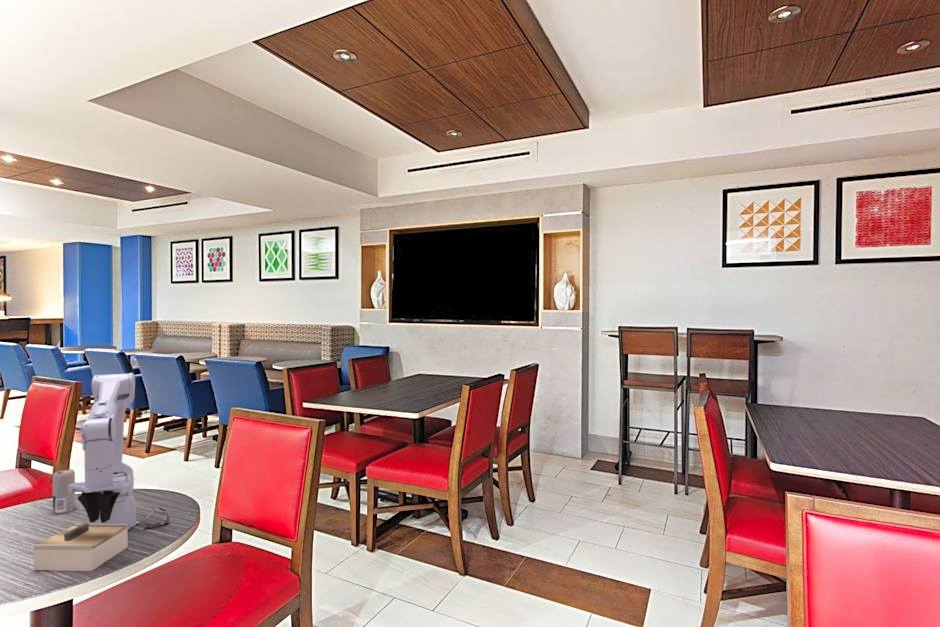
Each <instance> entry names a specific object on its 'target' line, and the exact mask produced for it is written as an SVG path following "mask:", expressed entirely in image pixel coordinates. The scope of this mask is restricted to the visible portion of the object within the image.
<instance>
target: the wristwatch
mask: <svg viewBox="0 0 940 627" xmlns="http://www.w3.org/2000/svg"><path fill="white" fill-rule="evenodd" d="M155 513H158V514H162V515H166V519H165V521H164V522H165V523H167V524H168V523H169V520H170V514H169V513H168V510H166V509H165V508H164V509H163V508H161V507H156V508H154V509H153V510H151V512H150V513H149V514H148V515H146V516H145V517H144V520H143V524H144V525H145V526H146V527H148V528H149V529H150V528H152V527H154V528H157V527H156V526H159V527H161V526H160V525H161V524H160V523H161V522H157V523H147V522H148V521H147V520H148V519H149V518H150V517H152V515H154V514H155ZM165 523H164V524H165ZM165 525H166V524H165ZM152 529H153V528H152Z"/></svg>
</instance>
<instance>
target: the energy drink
mask: <svg viewBox="0 0 940 627" xmlns="http://www.w3.org/2000/svg"><path fill="white" fill-rule="evenodd" d="M75 475H76V474H75V470H74V469H62V470H58V471H55V472H53V474H52V512H53V514H56V515H59V514H60V515H61V514H66V512H67V513H70V512H73V511H74V510H75V508H76V492H73V493H68V485H70V484H72V483H76V476H75Z"/></svg>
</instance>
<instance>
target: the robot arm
mask: <svg viewBox="0 0 940 627" xmlns="http://www.w3.org/2000/svg"><path fill="white" fill-rule="evenodd" d="M135 390H136V376H135V374H134V373H133V372H129V373H113V374H112V373H111V374H110V373H109V374H95V375H94V376H93V377H92V379H91V393H92V396H93V398H94V399H93V400H94V403H93V404H92V405H91V407H90V411H89V413H88V417H87V419H86V420H85V421H82V423H81V425H80V439H81V444H82V451H84V453H83V454H84V482H83V481H82V482H75V483H72V484H70V485H68V493H73V492H75V493H81V495H78V496H77V501H78V502H80V504H81V505H82V507H83V509H84V510H85V512H86V514H87V517H88V520H89V524H94V522H95V524H127V531H128V530H130V529H132V528H134V527H135V526H136V524H137V525H138V524H140V521H139V520H137V501H136V498H135V497H134V496H133V492H134V482H135V481H134V469H133V468H132V467H131V466H130V465H128V464H126V463H124V462H123V451H124V450H123V448H124V432H125V431H124V430H125V413H126V410H127V406H128V405H130V404H132V403H134V399H135V397H136V396H135V395H136V394H135ZM131 527H132V528H131Z"/></svg>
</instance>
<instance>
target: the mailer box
mask: <svg viewBox="0 0 940 627" xmlns="http://www.w3.org/2000/svg"><path fill="white" fill-rule="evenodd" d="M82 524H83V523H74V524H73V526H81V525H82ZM88 524H89V526H124V527H125V529H123V530H122V531H120V532H118V533H117V534H115V535H113V536H112V537H110V538H108V539H107V540H105V541H103V542H102V543H100V544H98V545H97V546H95V547H93V545H37V544H34V545H33V568H34V569H33V571H34V570H50V571H49V572H61V571H62V572H93V571H94V570H95V569H97V568H99V567H101V566H102V565H103V564H105V563H107V562H108V561H110V560H111V559H113V557H115V556H117V555H118V554H120V553H122V552H123V551H124V550H126V549H127V548H129V546H128V545H129V542H128V541H129V539H128V538H129V537H128V535H129V534H128V530H127V524H96V523H88ZM107 560H108V561H107ZM104 562H105V563H104ZM51 570H52V571H51ZM53 570H54V571H53Z"/></svg>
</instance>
